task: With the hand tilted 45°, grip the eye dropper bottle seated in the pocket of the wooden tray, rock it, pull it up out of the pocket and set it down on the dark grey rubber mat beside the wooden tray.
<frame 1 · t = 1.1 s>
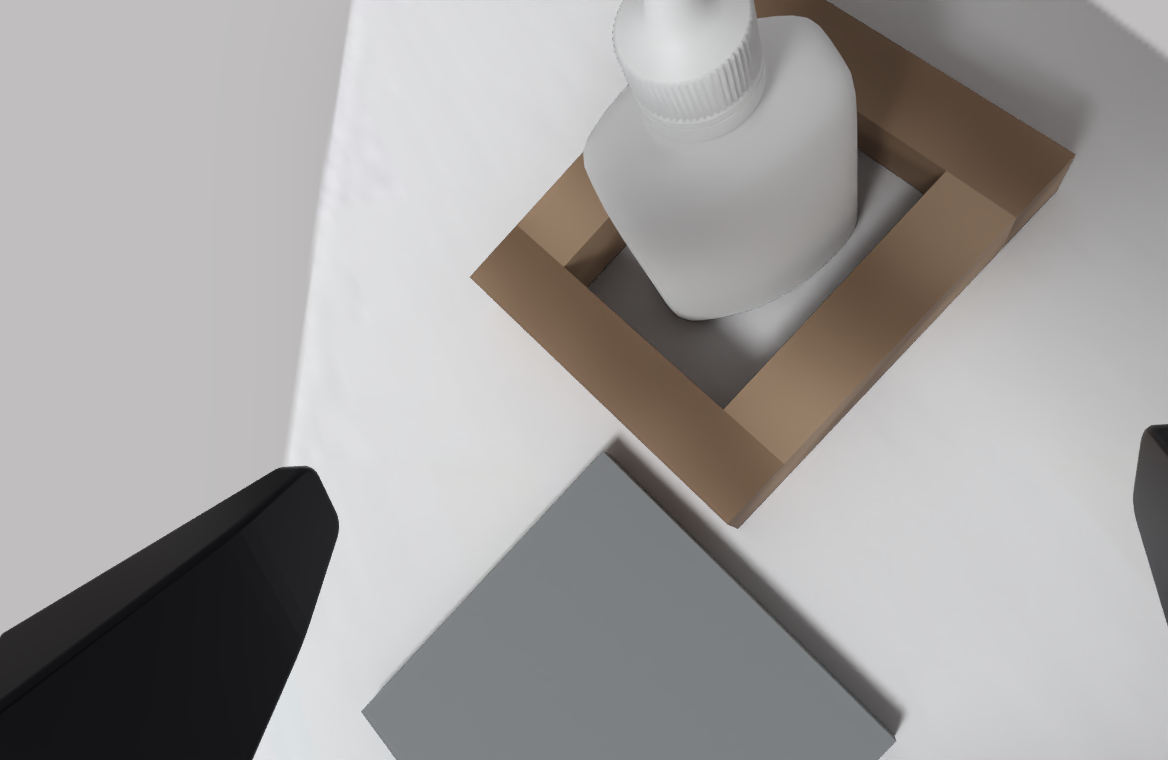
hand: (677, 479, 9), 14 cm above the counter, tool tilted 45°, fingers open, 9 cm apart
wooden tray: (752, 249, 24), on the counter
mat: (609, 721, 22), on the counter
eye dropper bottle: (753, 252, 24), resting in wooden tray
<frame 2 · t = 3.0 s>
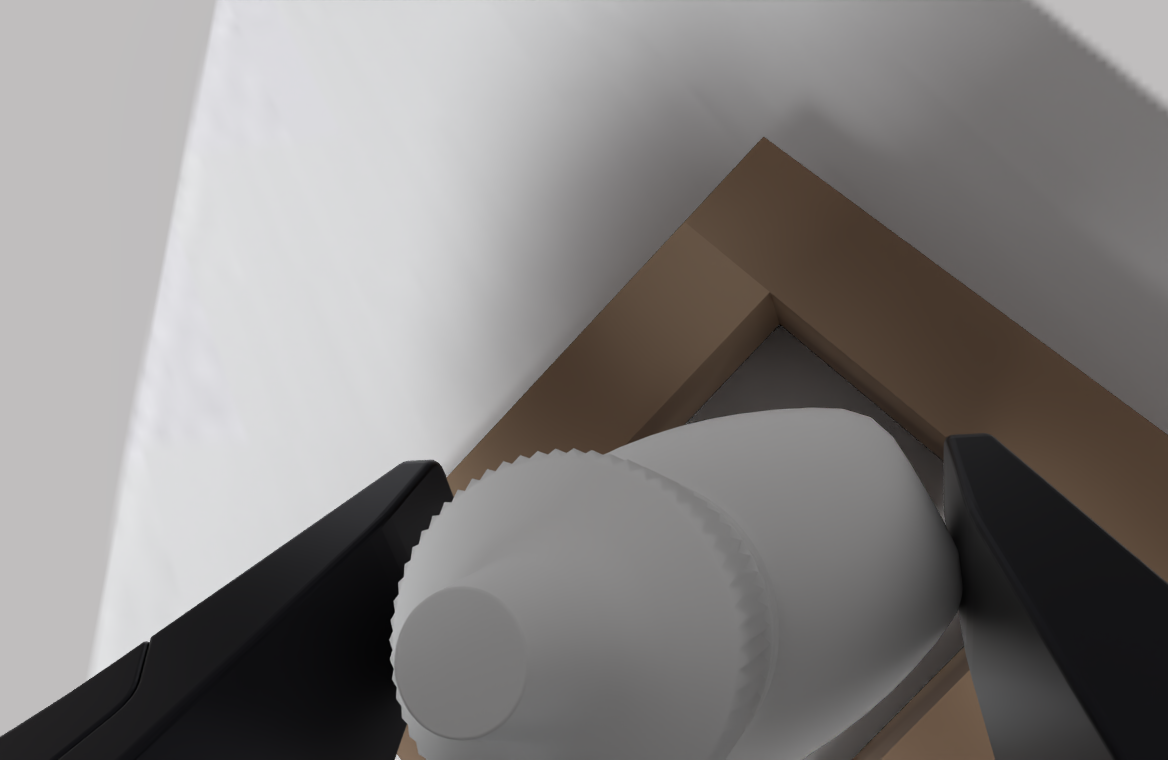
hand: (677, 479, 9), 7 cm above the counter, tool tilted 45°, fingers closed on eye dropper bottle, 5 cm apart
wooden tray: (750, 593, 15), on the counter
eye dropper bottle: (751, 593, 15), resting in wooden tray, touching gripper
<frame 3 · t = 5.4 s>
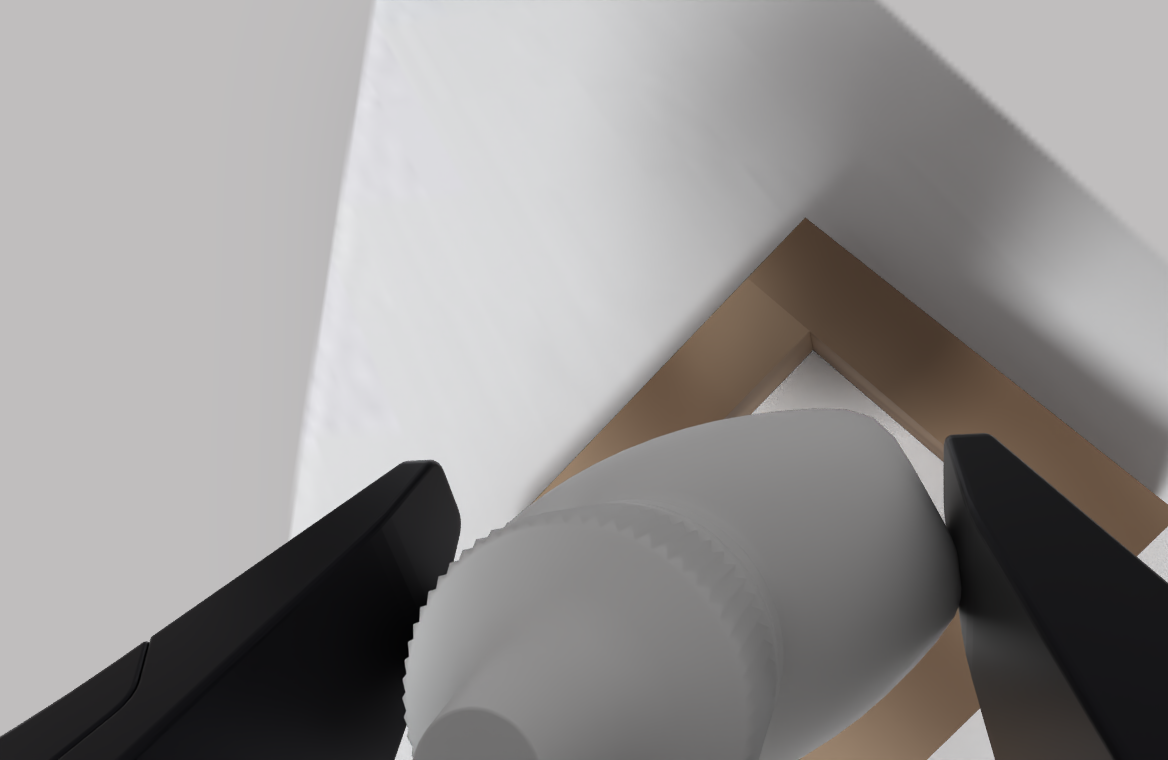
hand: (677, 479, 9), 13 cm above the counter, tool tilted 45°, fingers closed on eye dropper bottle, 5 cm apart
wooden tray: (791, 545, 21), on the counter
eye dropper bottle: (750, 545, 16), point 6 cm above the counter, touching gripper
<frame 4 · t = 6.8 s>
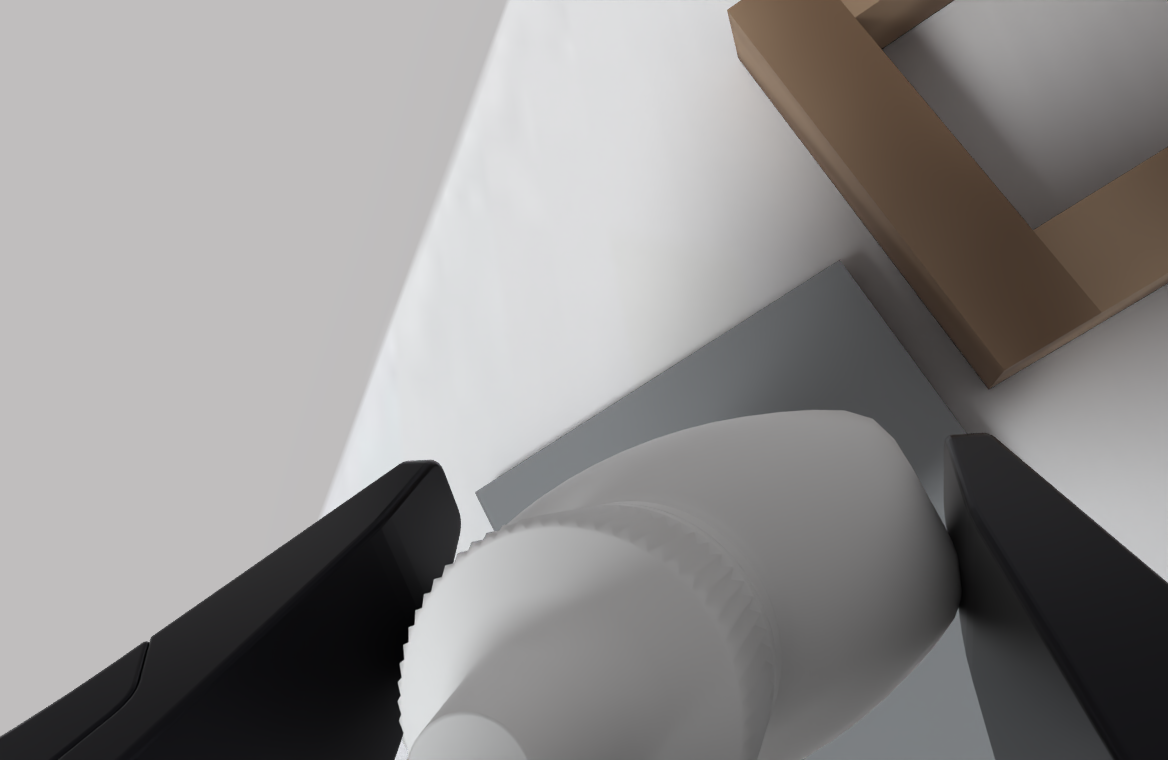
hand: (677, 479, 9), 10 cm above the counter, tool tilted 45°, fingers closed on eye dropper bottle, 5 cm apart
wooden tray: (1093, 55, 19), on the counter
mat: (769, 573, 19), on the counter
eye dropper bottle: (750, 546, 16), point 3 cm above the counter, touching gripper
when the fingers open (8 cm above the counter, at t = 7.7 s): eye dropper bottle stays where it is, resting on mat.
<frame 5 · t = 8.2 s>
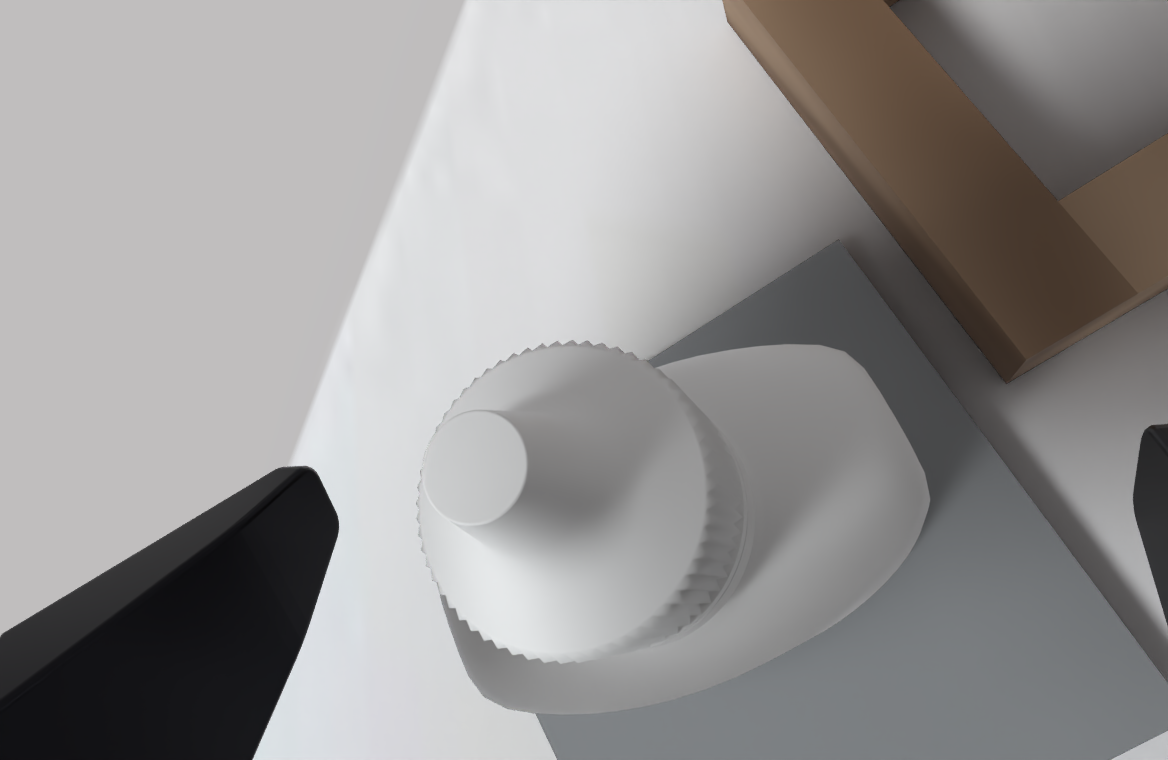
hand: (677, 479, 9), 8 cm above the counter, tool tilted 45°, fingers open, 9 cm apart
wooden tray: (1121, 12, 17), on the counter
mat: (760, 590, 17), on the counter
eye dropper bottle: (754, 558, 16), resting on mat
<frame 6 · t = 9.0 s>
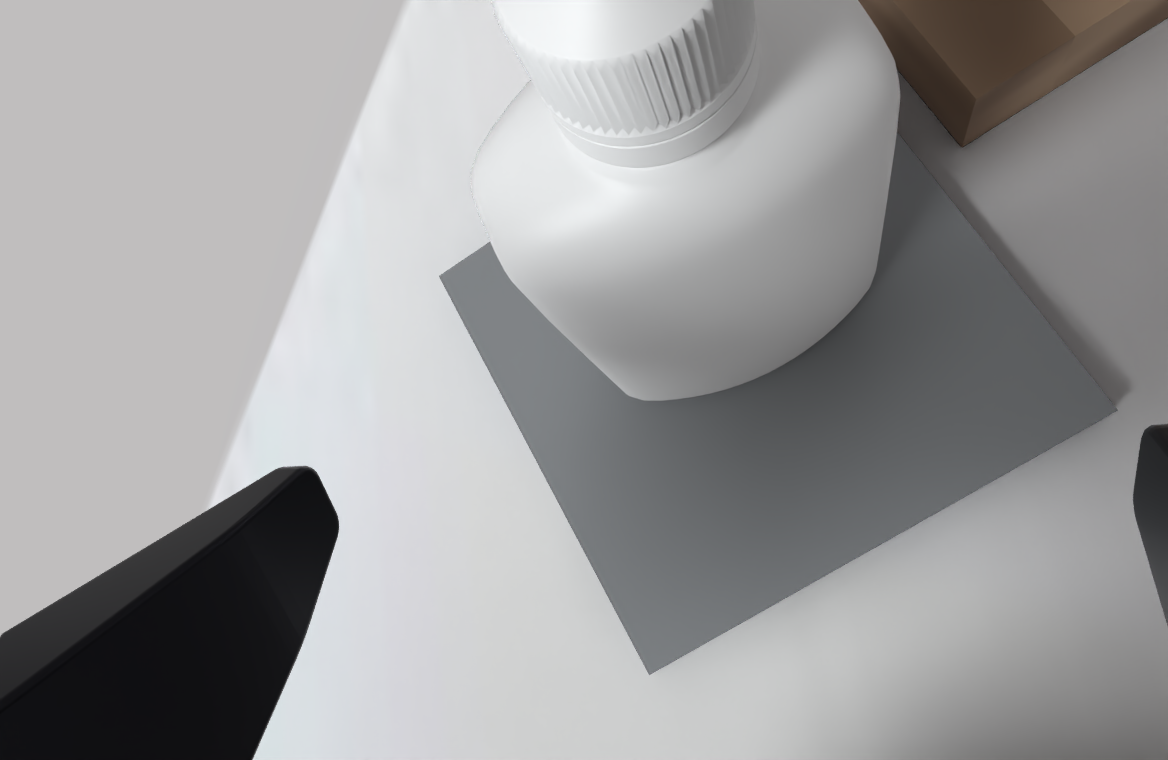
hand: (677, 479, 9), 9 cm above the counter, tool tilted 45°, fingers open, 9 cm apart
mat: (737, 341, 18), on the counter
eye dropper bottle: (732, 307, 18), resting on mat
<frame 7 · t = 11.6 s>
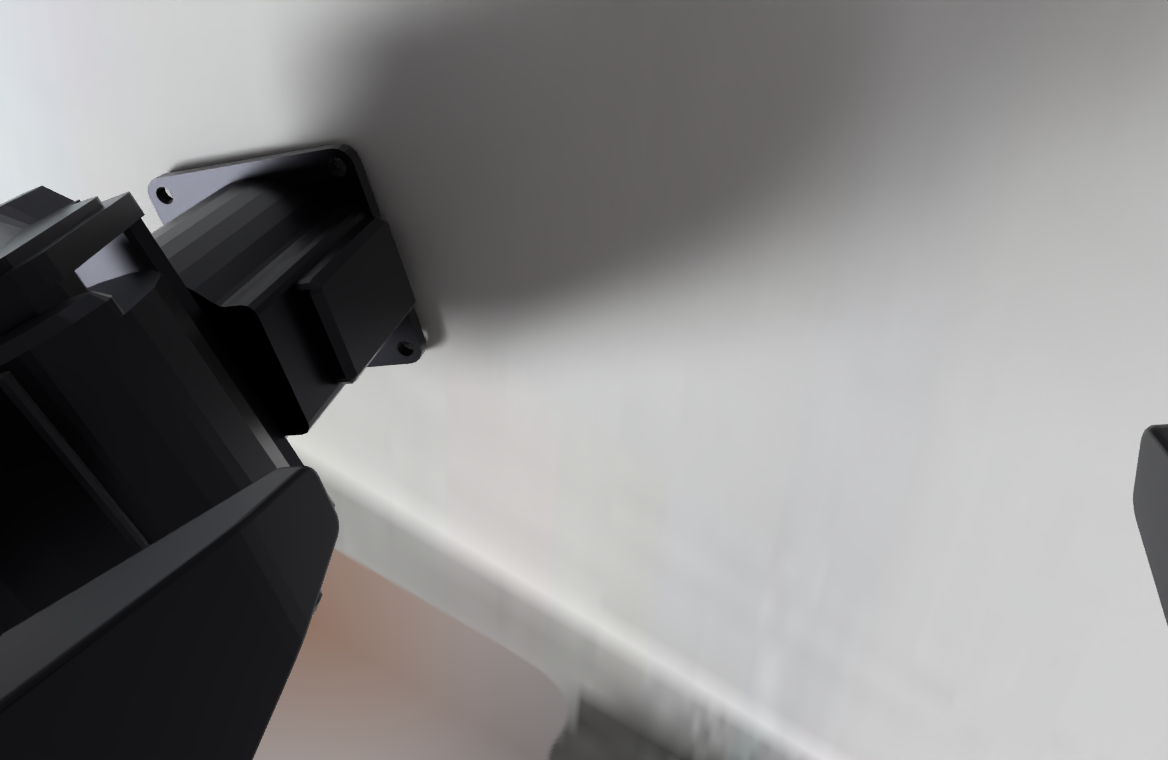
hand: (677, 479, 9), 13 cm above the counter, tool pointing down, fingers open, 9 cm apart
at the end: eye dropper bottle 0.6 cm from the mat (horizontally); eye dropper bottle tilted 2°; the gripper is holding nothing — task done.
